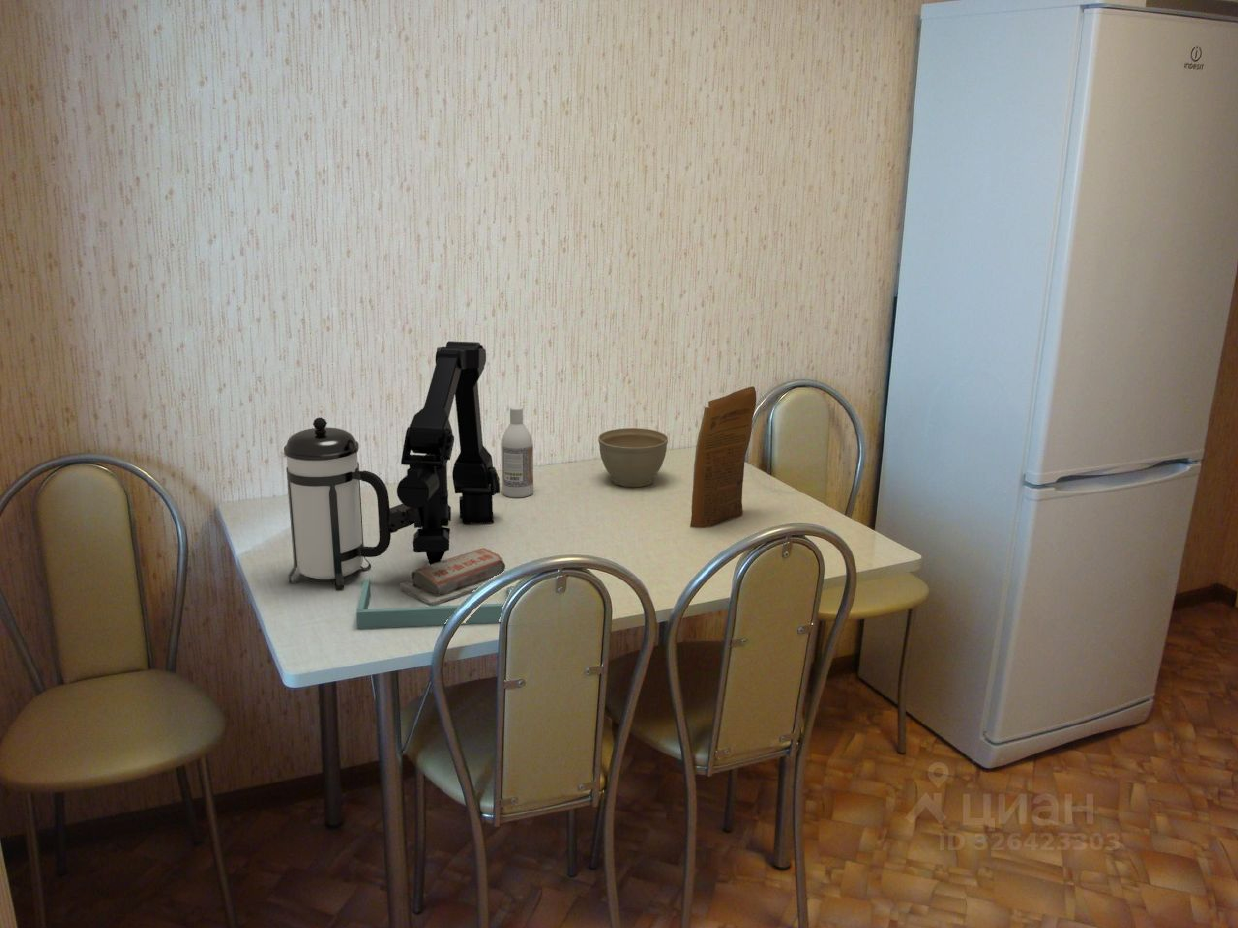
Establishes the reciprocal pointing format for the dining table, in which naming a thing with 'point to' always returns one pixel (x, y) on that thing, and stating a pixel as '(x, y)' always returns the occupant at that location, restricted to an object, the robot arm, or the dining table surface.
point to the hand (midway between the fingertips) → (434, 570)
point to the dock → (417, 613)
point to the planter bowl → (632, 455)
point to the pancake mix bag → (722, 458)
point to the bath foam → (517, 457)
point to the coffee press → (330, 504)
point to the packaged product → (453, 576)
